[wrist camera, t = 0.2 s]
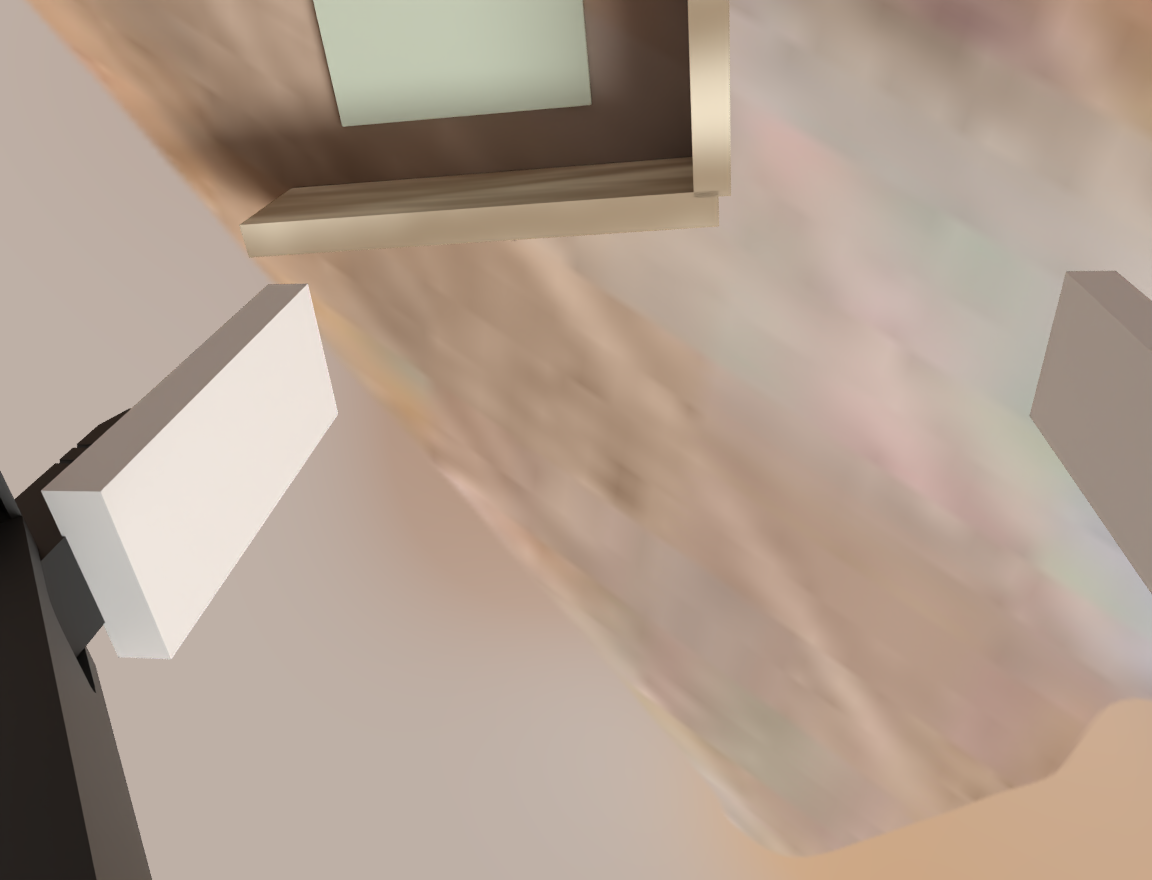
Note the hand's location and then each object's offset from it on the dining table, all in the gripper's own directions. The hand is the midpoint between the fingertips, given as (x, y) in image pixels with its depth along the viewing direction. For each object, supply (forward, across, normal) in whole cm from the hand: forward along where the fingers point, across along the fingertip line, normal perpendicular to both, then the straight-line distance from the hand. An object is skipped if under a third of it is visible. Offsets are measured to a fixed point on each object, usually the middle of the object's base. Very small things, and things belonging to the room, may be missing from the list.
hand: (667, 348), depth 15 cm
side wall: (+28, +1, +4) cm, 28 cm away
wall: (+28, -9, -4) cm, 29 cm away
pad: (+28, -10, +5) cm, 30 cm away
